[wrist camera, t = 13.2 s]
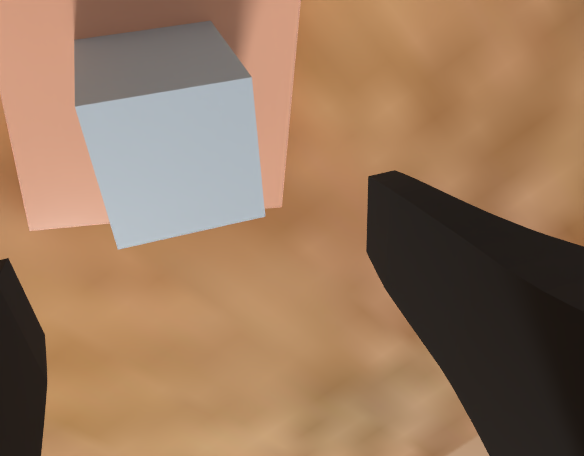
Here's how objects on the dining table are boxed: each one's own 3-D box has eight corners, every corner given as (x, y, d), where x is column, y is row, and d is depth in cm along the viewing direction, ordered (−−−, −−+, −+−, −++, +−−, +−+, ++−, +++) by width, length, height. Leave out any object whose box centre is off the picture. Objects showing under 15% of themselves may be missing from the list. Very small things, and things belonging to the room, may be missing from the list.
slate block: (210, 20, 17) (251, 77, 13) (226, 138, 19) (265, 216, 15) (74, 39, 16) (74, 106, 12) (108, 161, 18) (118, 249, 14)
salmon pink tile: (294, -54, 17) (305, -48, 17) (274, 194, 22) (281, 206, 22) (-28, -71, 15) (-34, -66, 14) (31, 215, 20) (29, 230, 19)
